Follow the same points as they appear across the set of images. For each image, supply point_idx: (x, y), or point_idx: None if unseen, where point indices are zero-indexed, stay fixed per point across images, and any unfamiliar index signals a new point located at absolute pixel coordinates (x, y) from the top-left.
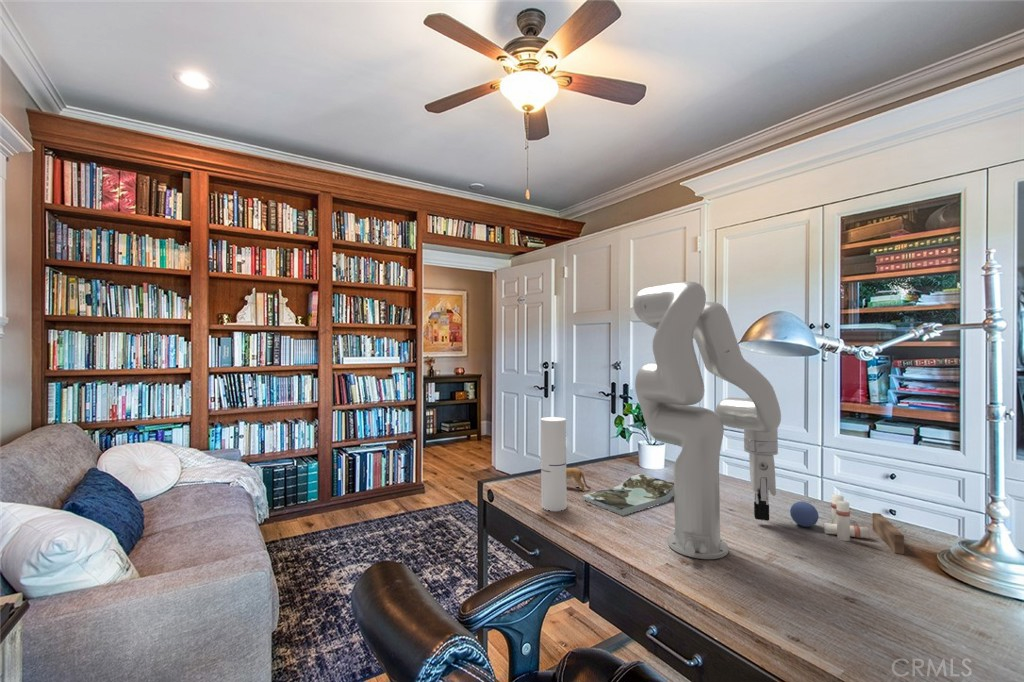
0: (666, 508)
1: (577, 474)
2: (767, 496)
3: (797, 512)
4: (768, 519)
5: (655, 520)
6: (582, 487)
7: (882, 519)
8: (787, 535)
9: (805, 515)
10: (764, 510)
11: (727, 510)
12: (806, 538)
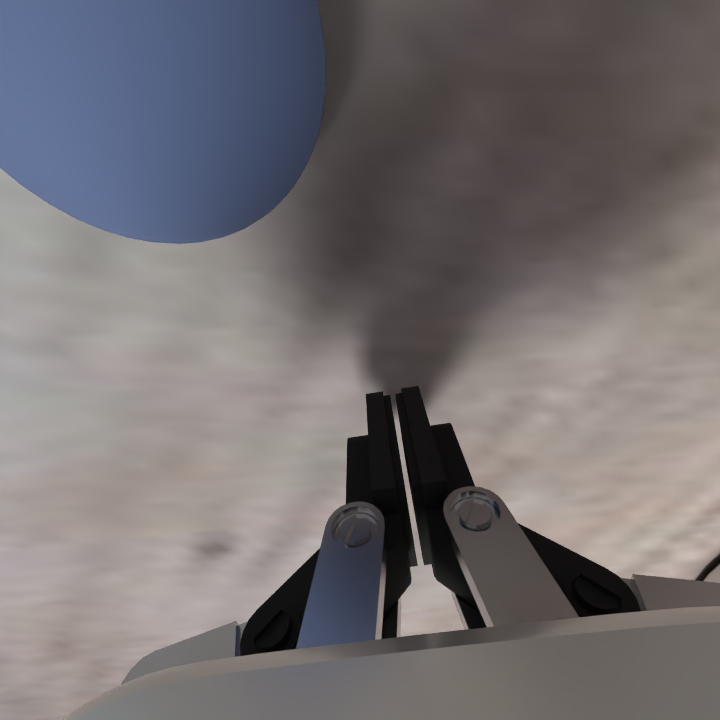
0: None
1: None
2: (564, 609)
3: (296, 150)
4: (418, 391)
5: None
6: None
7: None
8: (533, 235)
9: (320, 28)
10: (463, 468)
11: (240, 558)
12: (553, 73)
